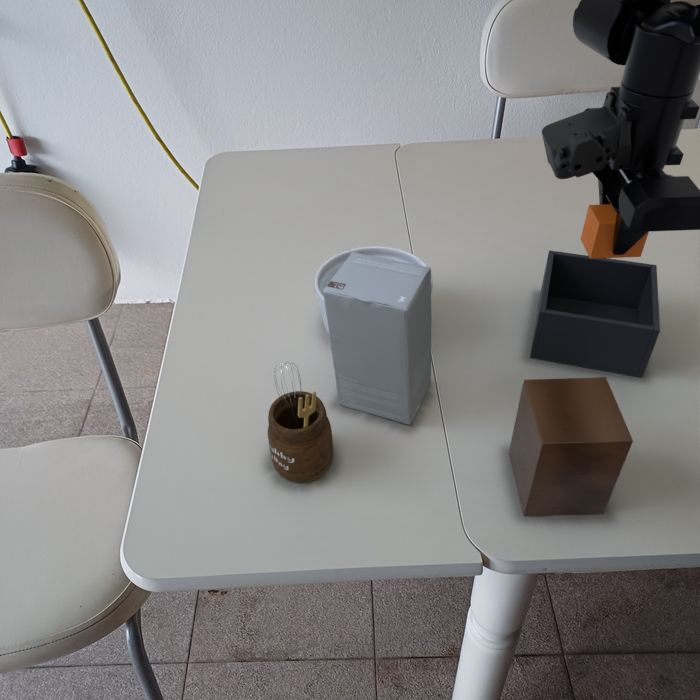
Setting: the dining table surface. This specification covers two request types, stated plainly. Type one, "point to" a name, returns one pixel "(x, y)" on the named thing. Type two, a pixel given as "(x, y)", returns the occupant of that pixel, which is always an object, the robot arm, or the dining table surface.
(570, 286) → the open box
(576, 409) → the stand
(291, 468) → the utensil holder
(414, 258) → the ramekin
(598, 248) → the orange block
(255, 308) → the dining table surface
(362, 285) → the cosmetic box
